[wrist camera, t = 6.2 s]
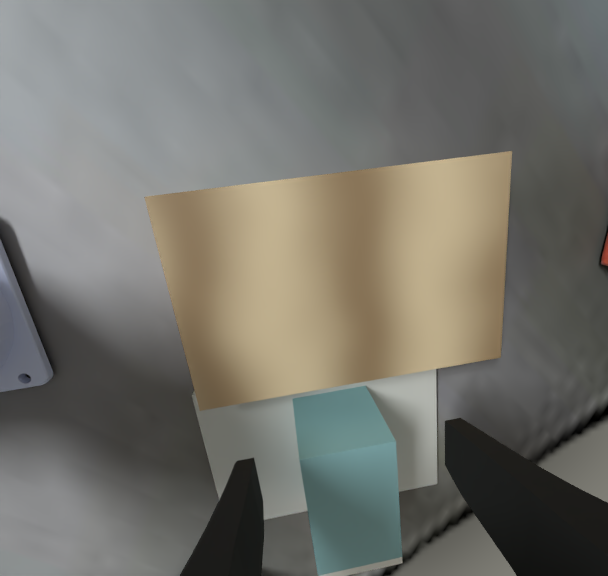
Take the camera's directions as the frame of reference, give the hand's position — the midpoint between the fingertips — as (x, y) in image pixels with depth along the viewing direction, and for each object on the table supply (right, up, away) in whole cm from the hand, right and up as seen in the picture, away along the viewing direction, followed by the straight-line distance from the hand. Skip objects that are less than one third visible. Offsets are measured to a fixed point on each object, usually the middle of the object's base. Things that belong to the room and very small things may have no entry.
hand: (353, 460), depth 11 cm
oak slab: (0, +7, +4) cm, 8 cm away
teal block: (0, 0, +3) cm, 3 cm away
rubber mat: (-1, -2, +6) cm, 7 cm away
